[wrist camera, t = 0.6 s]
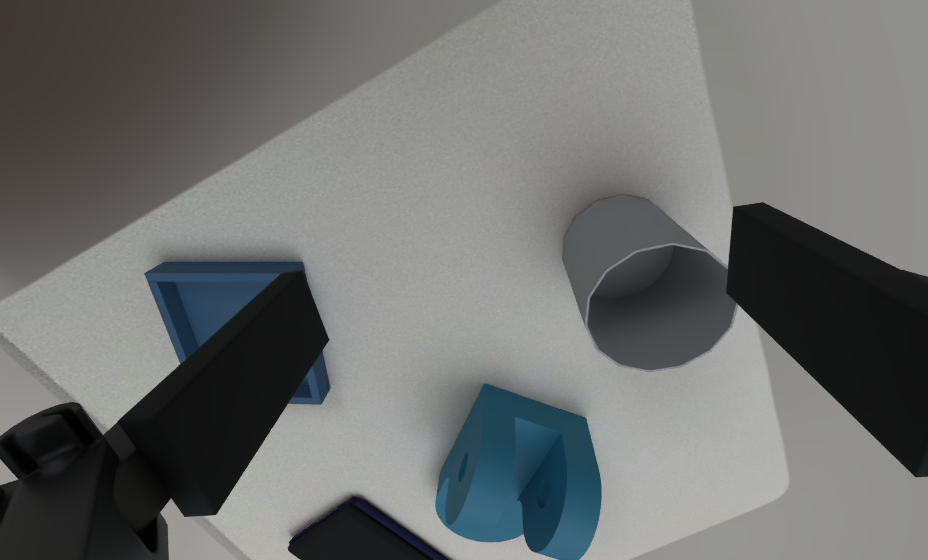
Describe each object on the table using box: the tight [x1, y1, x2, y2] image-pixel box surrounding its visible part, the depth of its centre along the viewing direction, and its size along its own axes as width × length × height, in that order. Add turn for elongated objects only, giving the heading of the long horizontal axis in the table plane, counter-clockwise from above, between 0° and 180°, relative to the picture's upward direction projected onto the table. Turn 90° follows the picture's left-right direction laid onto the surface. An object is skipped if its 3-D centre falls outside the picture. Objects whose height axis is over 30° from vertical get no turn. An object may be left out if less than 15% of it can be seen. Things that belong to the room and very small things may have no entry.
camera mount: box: [436, 384, 601, 560], centre depth 39 cm, size 18×10×10 cm, turn 160°
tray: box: [144, 262, 330, 405], centre depth 38 cm, size 14×13×2 cm
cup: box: [562, 195, 738, 372], centre depth 28 cm, size 8×8×10 cm
